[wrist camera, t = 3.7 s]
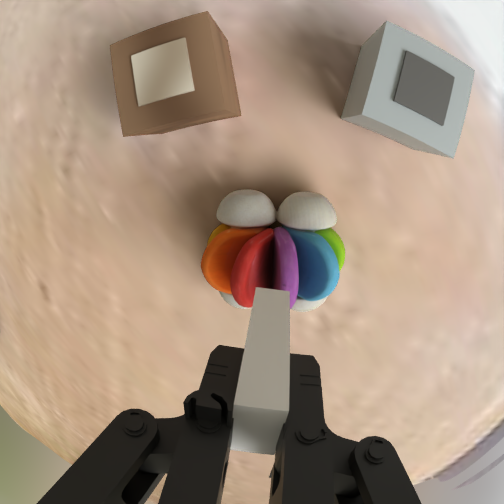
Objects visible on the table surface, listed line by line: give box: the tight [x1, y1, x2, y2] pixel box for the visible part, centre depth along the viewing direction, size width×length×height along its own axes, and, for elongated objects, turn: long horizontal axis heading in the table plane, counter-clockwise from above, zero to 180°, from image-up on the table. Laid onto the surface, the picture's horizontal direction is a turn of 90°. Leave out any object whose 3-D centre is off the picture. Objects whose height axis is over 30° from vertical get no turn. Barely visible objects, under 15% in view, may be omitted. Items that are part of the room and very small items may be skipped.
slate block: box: [341, 21, 475, 159], centre depth 15 cm, size 6×6×6 cm
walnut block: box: [110, 11, 241, 137], centre depth 16 cm, size 6×6×6 cm
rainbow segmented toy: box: [201, 189, 345, 312], centre depth 19 cm, size 8×10×7 cm
